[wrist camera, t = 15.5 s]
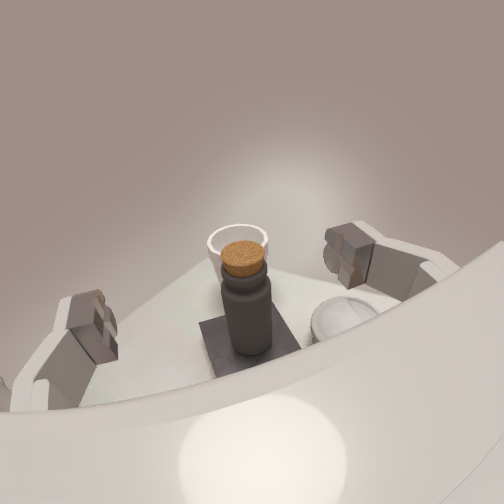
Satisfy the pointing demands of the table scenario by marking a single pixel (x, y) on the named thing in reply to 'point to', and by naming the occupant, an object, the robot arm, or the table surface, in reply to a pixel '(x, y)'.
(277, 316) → the podium
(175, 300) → the table surface
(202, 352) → the table surface
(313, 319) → the ramekin
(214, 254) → the foam cup
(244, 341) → the bottle
